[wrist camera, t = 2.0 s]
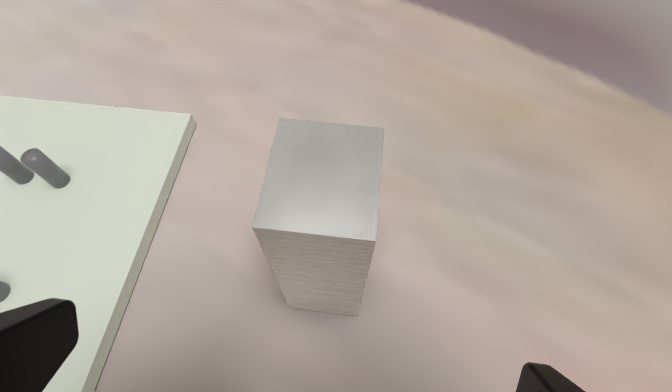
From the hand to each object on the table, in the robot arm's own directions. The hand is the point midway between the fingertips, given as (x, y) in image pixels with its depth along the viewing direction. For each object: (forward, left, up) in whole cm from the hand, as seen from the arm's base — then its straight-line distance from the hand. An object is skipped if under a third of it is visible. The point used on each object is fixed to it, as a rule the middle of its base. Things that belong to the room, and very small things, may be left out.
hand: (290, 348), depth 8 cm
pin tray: (-17, +5, -12) cm, 21 cm away
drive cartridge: (0, +5, -12) cm, 13 cm away
